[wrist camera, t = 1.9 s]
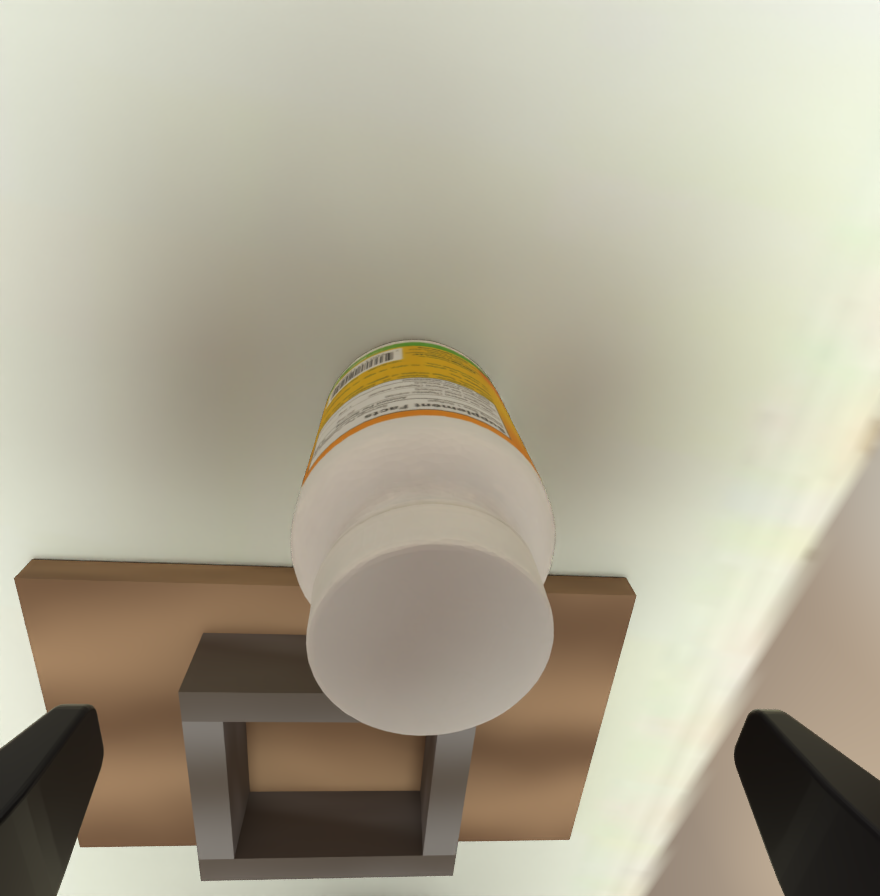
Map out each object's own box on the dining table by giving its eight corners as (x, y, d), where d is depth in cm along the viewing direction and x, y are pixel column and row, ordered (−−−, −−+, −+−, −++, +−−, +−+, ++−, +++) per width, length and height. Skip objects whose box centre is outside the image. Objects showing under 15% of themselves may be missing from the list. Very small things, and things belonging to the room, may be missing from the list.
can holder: (563, 817, 26) (586, 904, 23) (91, 822, 24) (46, 918, 21) (626, 577, 21) (667, 647, 18) (31, 559, 19) (-40, 634, 16)
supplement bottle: (471, 514, 20) (534, 785, 11) (309, 479, 19) (234, 746, 10) (524, 361, 18) (656, 542, 9) (346, 314, 17) (293, 463, 8)
